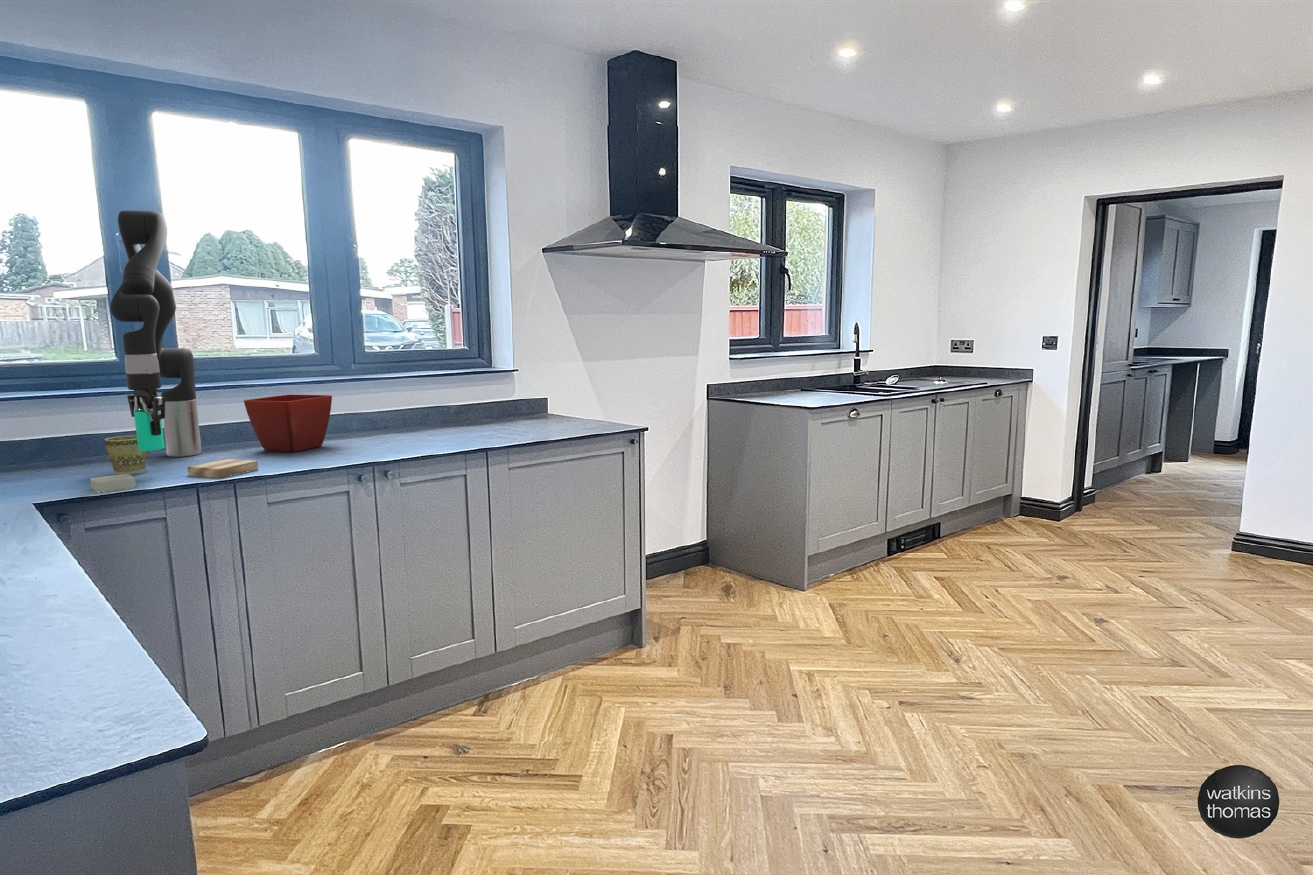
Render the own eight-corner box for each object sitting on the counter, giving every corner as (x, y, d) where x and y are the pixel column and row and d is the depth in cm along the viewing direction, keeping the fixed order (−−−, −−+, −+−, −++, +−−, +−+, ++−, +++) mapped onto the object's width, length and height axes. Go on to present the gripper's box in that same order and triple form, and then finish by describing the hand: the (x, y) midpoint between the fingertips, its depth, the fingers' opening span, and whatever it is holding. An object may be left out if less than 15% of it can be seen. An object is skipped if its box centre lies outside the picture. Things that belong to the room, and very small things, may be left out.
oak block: (188, 477, 212) (187, 466, 211) (226, 469, 223) (225, 458, 223) (221, 480, 208) (220, 469, 207) (258, 471, 219) (257, 461, 219)
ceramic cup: (118, 478, 209) (114, 441, 208) (101, 474, 214) (97, 438, 213) (170, 470, 220) (166, 435, 218) (152, 466, 225) (148, 432, 224)
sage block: (91, 489, 197) (89, 478, 196) (128, 484, 202) (127, 473, 202) (98, 494, 191) (96, 482, 191) (136, 489, 197) (134, 477, 196)
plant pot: (246, 451, 250) (241, 399, 247) (294, 442, 267) (290, 393, 264) (291, 455, 242) (286, 401, 240) (337, 445, 260) (333, 395, 257)
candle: (137, 451, 206) (131, 407, 204) (139, 448, 212) (134, 404, 210) (163, 449, 209) (158, 405, 207) (165, 446, 214) (160, 402, 212)
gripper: (112, 371, 207) (120, 434, 210) (142, 373, 200) (150, 438, 203) (142, 369, 213) (150, 430, 216) (172, 371, 206) (179, 434, 209)
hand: (150, 433), depth 209 cm, fingers closed on candle, 5 cm apart
